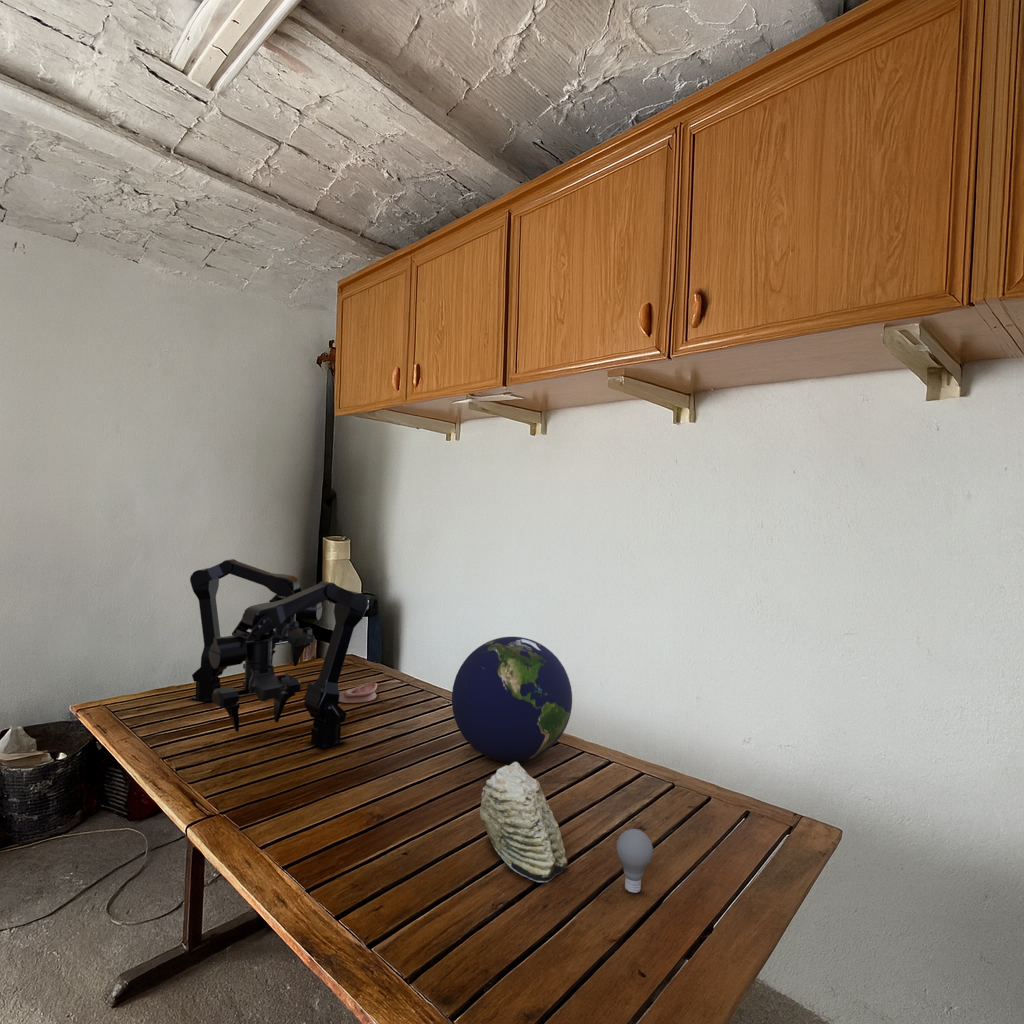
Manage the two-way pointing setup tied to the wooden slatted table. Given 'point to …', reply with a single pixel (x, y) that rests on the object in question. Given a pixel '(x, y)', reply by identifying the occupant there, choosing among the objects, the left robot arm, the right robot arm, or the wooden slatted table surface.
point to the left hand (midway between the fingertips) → (282, 668)
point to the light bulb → (634, 857)
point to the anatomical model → (359, 694)
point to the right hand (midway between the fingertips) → (257, 726)
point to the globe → (512, 699)
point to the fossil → (522, 824)
